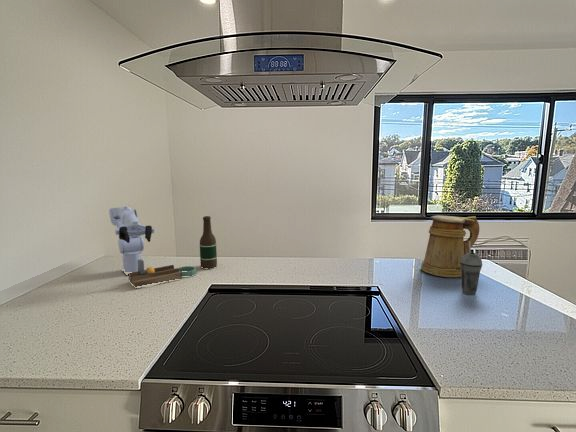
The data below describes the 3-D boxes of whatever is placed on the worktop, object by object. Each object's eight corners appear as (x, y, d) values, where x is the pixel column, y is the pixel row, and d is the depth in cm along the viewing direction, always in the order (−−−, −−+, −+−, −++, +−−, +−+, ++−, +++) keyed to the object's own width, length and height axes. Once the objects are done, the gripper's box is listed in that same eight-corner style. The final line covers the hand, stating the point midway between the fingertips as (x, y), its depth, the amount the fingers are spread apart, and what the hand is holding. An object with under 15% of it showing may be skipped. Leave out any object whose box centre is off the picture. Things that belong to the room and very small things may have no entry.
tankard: (414, 265, 165) (417, 213, 161) (464, 265, 165) (468, 212, 161) (430, 278, 147) (434, 220, 143) (486, 278, 147) (491, 219, 143)
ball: (144, 274, 144) (144, 266, 144) (153, 273, 147) (152, 265, 146) (147, 277, 142) (146, 268, 141) (156, 275, 144) (155, 267, 143)
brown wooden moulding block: (129, 282, 144) (128, 272, 143) (172, 273, 155) (171, 263, 154) (135, 289, 136) (134, 278, 136) (180, 279, 147) (180, 269, 146)
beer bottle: (197, 268, 162) (194, 217, 158) (205, 263, 169) (203, 214, 165) (212, 270, 160) (210, 218, 156) (220, 265, 167) (218, 215, 163)
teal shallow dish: (173, 274, 154) (173, 268, 154) (191, 270, 159) (191, 265, 159) (180, 279, 148) (180, 273, 148) (199, 275, 153) (198, 269, 153)
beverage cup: (482, 297, 126) (487, 243, 123) (460, 296, 128) (465, 243, 125) (476, 290, 133) (480, 239, 130) (455, 289, 135) (459, 238, 132)
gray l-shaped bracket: (138, 275, 143) (137, 259, 142) (143, 274, 144) (142, 258, 143) (141, 277, 140) (139, 261, 139) (146, 276, 141) (144, 261, 140)
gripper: (114, 217, 142) (119, 231, 132) (151, 216, 150) (159, 230, 140) (113, 232, 144) (118, 248, 134) (150, 231, 153) (157, 245, 142)
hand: (139, 240), depth 137 cm, fingers open, 7 cm apart
